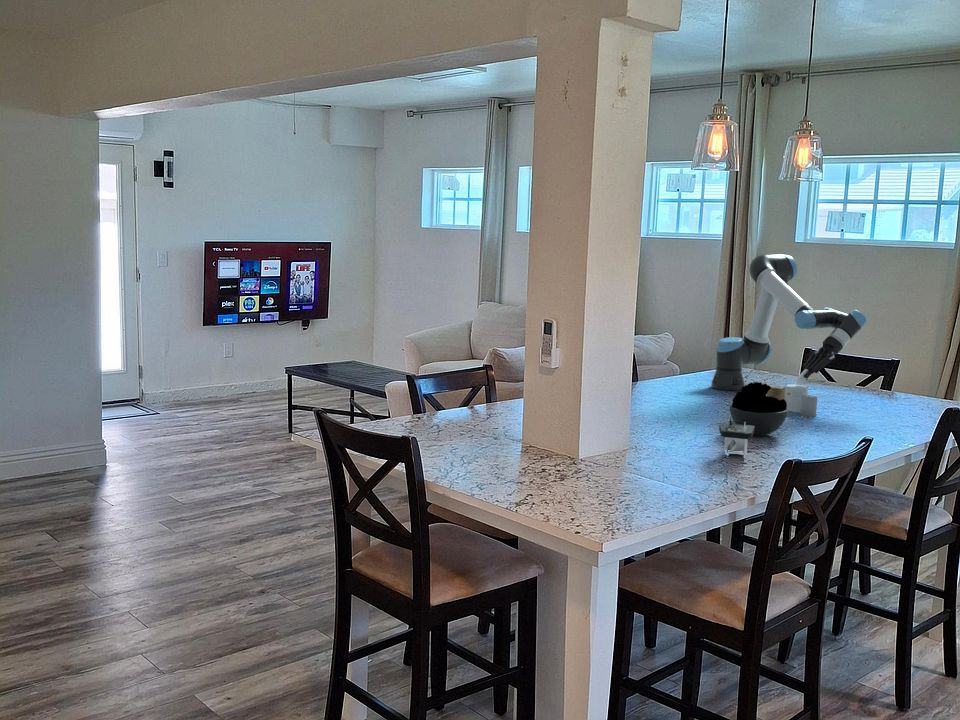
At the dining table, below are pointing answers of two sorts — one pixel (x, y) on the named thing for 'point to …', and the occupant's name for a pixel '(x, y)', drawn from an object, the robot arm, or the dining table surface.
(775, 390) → the walnut block
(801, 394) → the small box
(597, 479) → the dining table surface
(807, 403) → the white rectangular block
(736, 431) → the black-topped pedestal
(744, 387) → the bowl of black rocks
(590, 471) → the dining table surface
